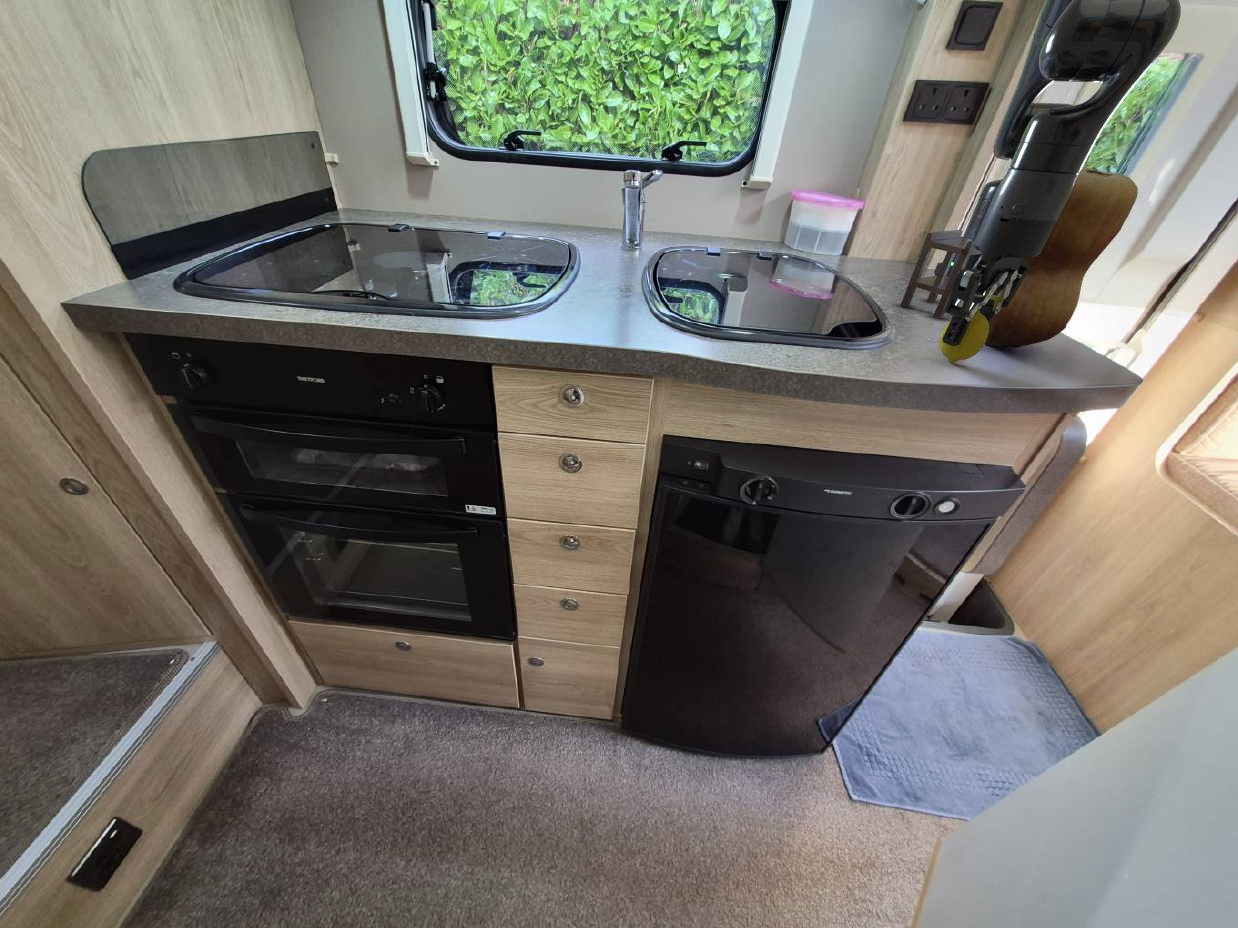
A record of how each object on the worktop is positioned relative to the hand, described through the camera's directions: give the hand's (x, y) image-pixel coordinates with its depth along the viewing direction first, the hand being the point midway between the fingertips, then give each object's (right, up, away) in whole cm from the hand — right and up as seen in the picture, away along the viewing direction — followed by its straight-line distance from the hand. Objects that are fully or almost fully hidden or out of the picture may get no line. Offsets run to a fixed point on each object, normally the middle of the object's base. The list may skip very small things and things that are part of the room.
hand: (961, 340), depth 71 cm
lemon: (0, -3, +2) cm, 4 cm away
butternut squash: (+13, +2, +10) cm, 16 cm away
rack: (+11, +12, +24) cm, 29 cm away
